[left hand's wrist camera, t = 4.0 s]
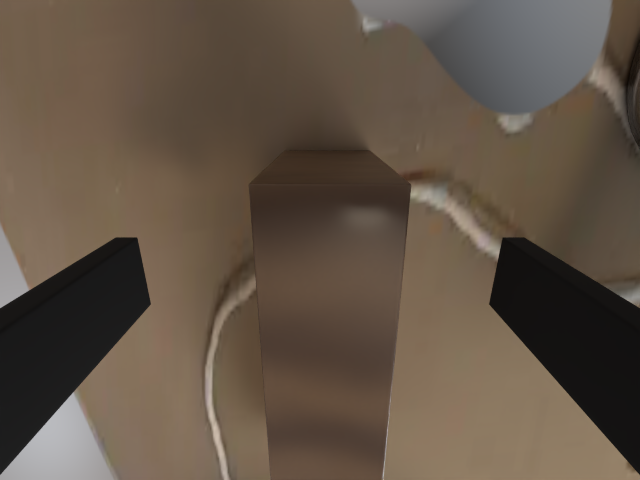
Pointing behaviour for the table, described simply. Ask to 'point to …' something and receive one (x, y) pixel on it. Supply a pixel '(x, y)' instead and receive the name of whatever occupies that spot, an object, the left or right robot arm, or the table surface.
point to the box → (328, 308)
